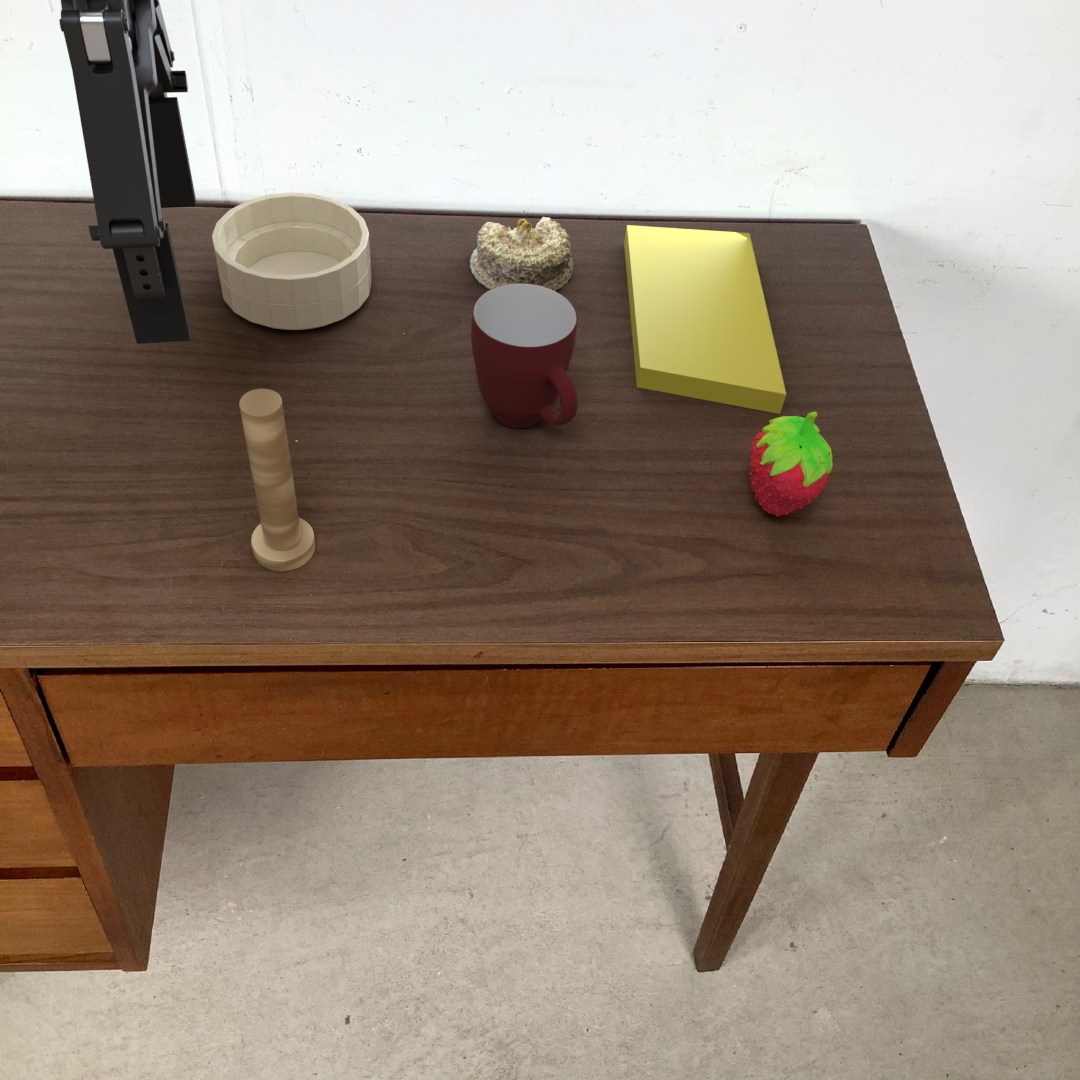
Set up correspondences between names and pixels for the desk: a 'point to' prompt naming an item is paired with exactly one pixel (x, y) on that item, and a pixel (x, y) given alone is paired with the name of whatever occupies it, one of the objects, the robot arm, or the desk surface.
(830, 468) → the strawberry
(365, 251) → the bowl
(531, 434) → the desk surface
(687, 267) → the yellow flat board
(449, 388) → the desk surface
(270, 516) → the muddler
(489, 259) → the cake
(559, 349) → the mug
